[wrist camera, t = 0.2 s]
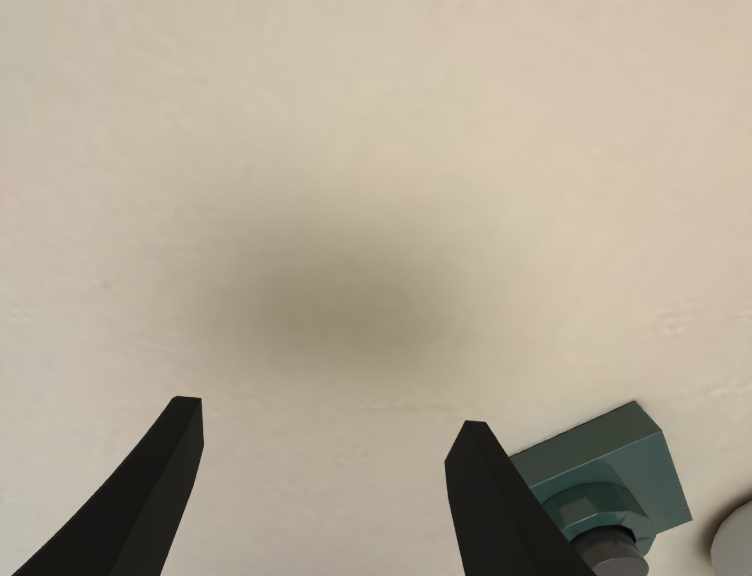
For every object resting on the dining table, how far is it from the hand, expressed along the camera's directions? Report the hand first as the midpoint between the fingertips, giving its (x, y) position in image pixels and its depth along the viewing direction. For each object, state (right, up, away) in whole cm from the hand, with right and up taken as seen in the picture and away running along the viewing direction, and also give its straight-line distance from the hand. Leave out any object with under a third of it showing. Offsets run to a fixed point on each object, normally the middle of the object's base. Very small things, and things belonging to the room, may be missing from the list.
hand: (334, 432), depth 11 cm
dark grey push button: (+15, -12, +14) cm, 24 cm away
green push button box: (+14, -10, +18) cm, 25 cm away
